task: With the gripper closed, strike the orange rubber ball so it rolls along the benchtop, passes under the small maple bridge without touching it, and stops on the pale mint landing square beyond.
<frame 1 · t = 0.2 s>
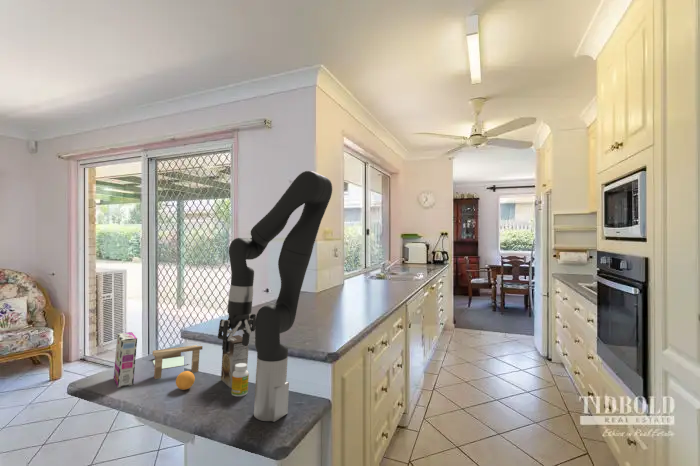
hand: (235, 348, 109), 17 cm above the counter, tool pointing down, fingers open, 8 cm apart
bridge: (176, 373, 129), on the counter
candy bar box: (123, 382, 120), on the counter
supplement bottle: (239, 394, 115), on the counter
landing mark: (170, 362, 140), on the counter
stopper: (167, 357, 147), on the counter
coffee box: (233, 382, 124), on the counter
ball: (185, 380, 117), on the counter
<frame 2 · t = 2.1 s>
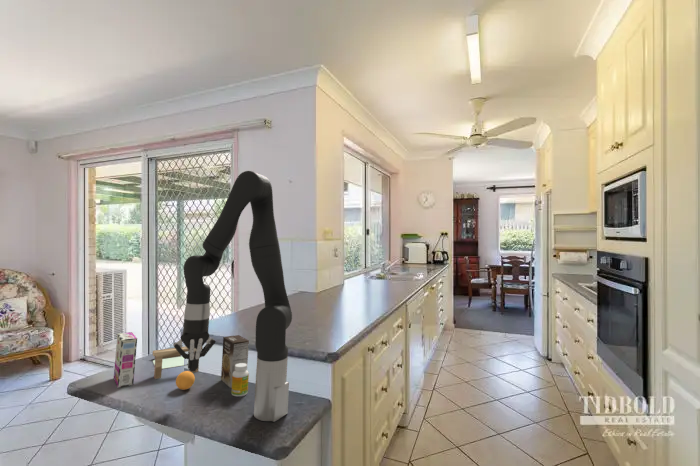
hand: (192, 370, 108), 10 cm above the counter, tool pointing down, fingers closed
nothing on the counter moved.
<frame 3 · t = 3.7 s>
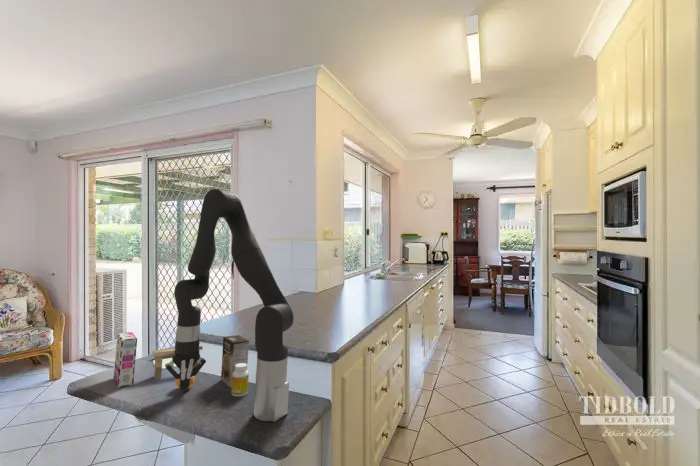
hand: (184, 389, 113), 1 cm above the counter, tool pointing down, fingers closed
ball: (185, 379, 117), on the counter, touching gripper
everything else where it was.
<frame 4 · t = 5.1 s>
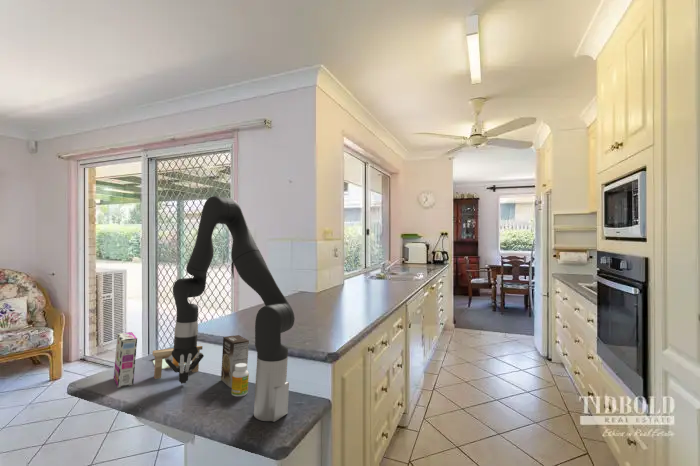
hand: (183, 382, 119), 1 cm above the counter, tool pointing down, fingers closed
ball: (179, 358, 138), on the counter
everything else where it was.
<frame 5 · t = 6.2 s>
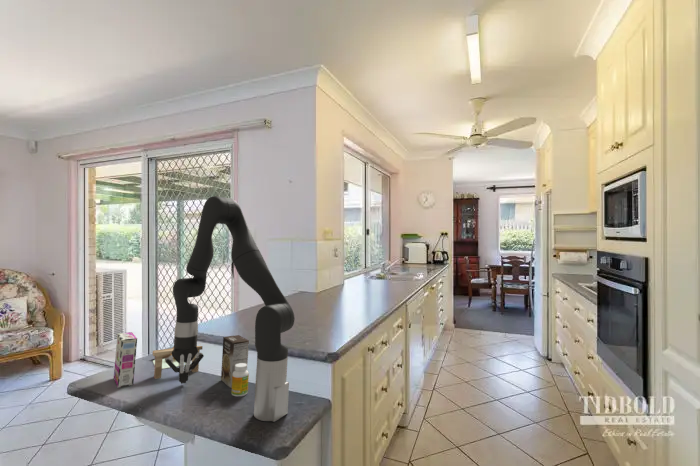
hand: (183, 382, 119), 1 cm above the counter, tool pointing down, fingers closed
ball: (178, 351, 146), on the counter
everything else where it was.
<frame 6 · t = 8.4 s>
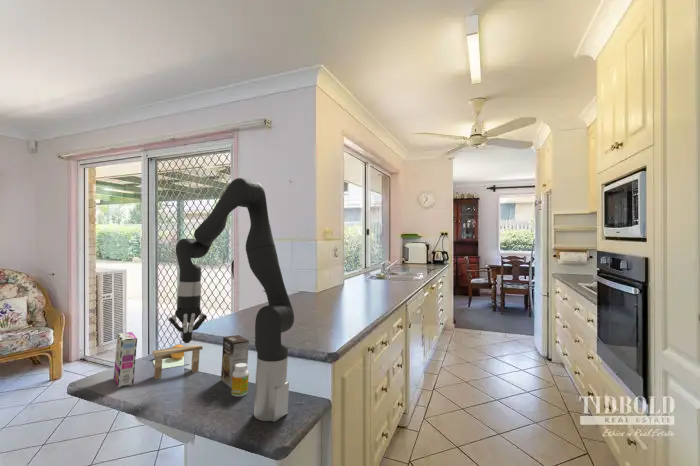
hand: (186, 342, 120), 15 cm above the counter, tool pointing down, fingers closed
nothing on the counter moved.
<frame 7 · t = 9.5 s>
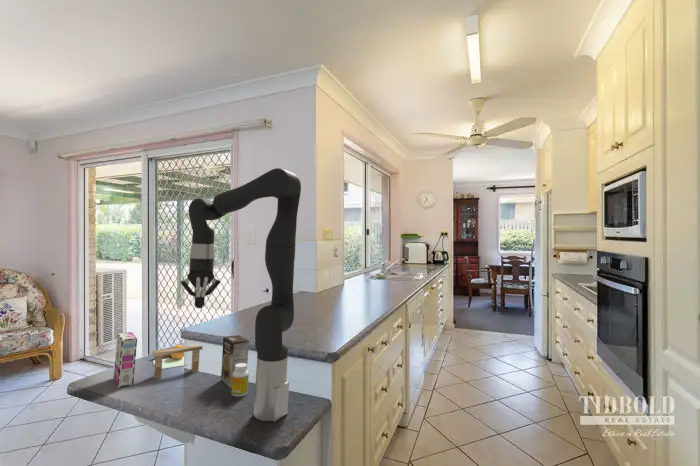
hand: (199, 307, 114), 29 cm above the counter, tool pointing down, fingers closed
nothing on the counter moved.
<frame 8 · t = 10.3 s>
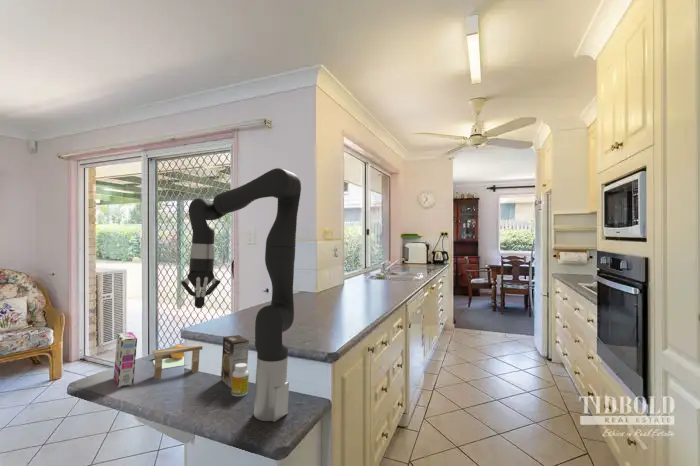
hand: (199, 307, 114), 29 cm above the counter, tool pointing down, fingers closed
nothing on the counter moved.
at the end: ball 5.2 cm from the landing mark (horizontally); ball never touched bridge; ball at rest at the end (0.0 cm/s) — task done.
